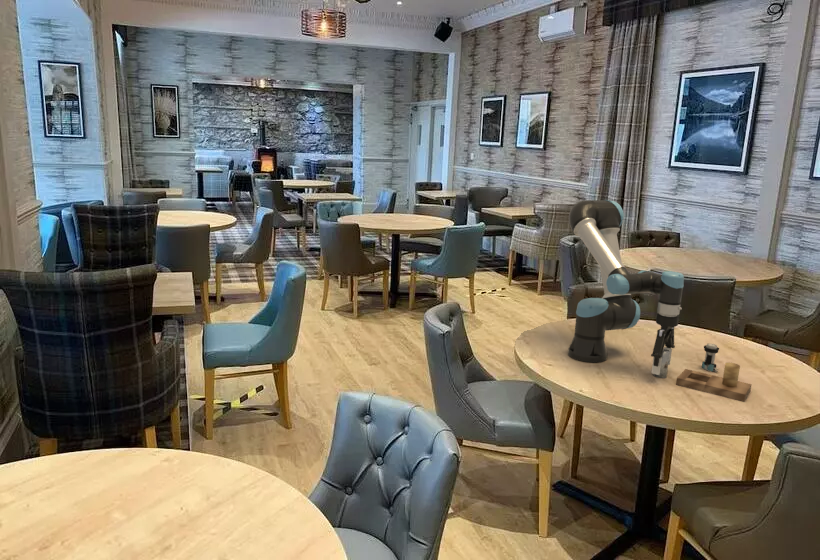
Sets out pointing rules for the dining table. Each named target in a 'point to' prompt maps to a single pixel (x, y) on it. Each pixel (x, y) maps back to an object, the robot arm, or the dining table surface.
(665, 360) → the tan grey cylinder
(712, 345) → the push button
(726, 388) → the jig
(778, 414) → the dining table surface
